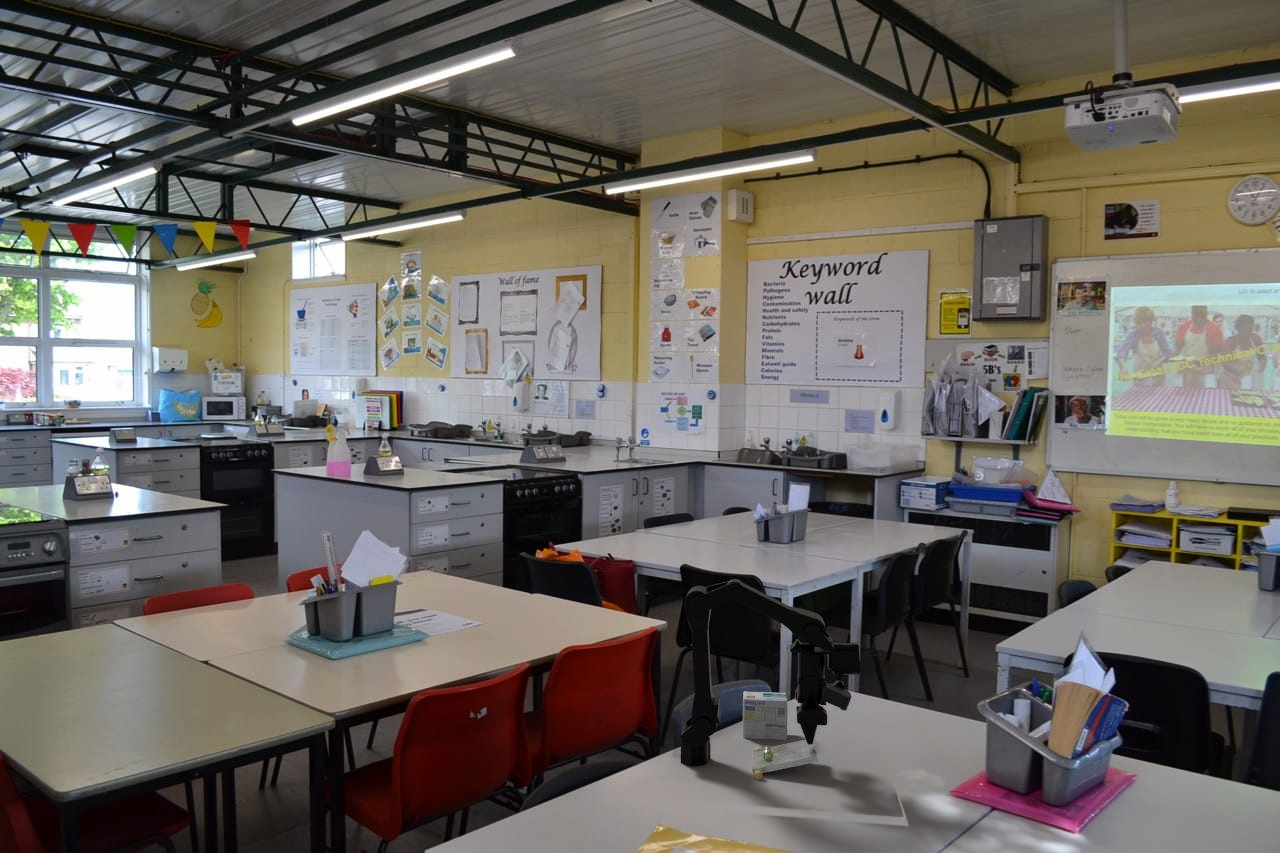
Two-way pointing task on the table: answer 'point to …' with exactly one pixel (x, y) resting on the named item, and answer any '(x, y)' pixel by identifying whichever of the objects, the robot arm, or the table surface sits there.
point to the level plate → (784, 756)
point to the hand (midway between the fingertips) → (810, 743)
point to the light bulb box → (765, 715)
